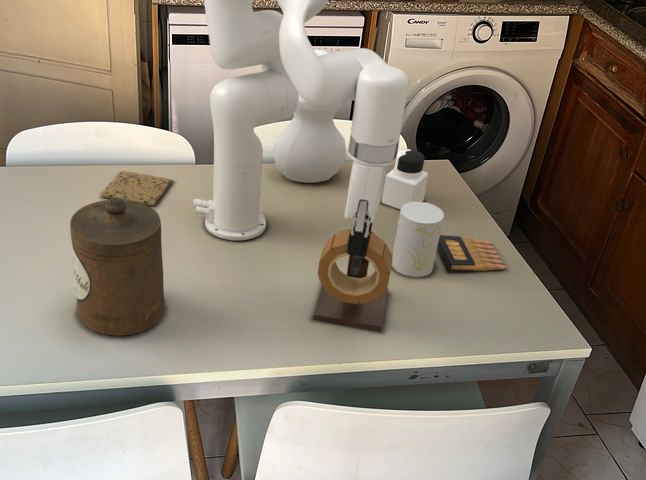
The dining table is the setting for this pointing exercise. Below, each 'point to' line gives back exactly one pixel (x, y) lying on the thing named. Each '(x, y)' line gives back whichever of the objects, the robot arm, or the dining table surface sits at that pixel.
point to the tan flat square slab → (137, 188)
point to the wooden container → (118, 266)
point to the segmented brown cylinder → (351, 286)
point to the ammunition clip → (468, 254)
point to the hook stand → (350, 313)
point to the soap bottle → (310, 143)
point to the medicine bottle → (405, 180)
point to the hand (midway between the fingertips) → (358, 245)
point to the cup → (417, 238)
